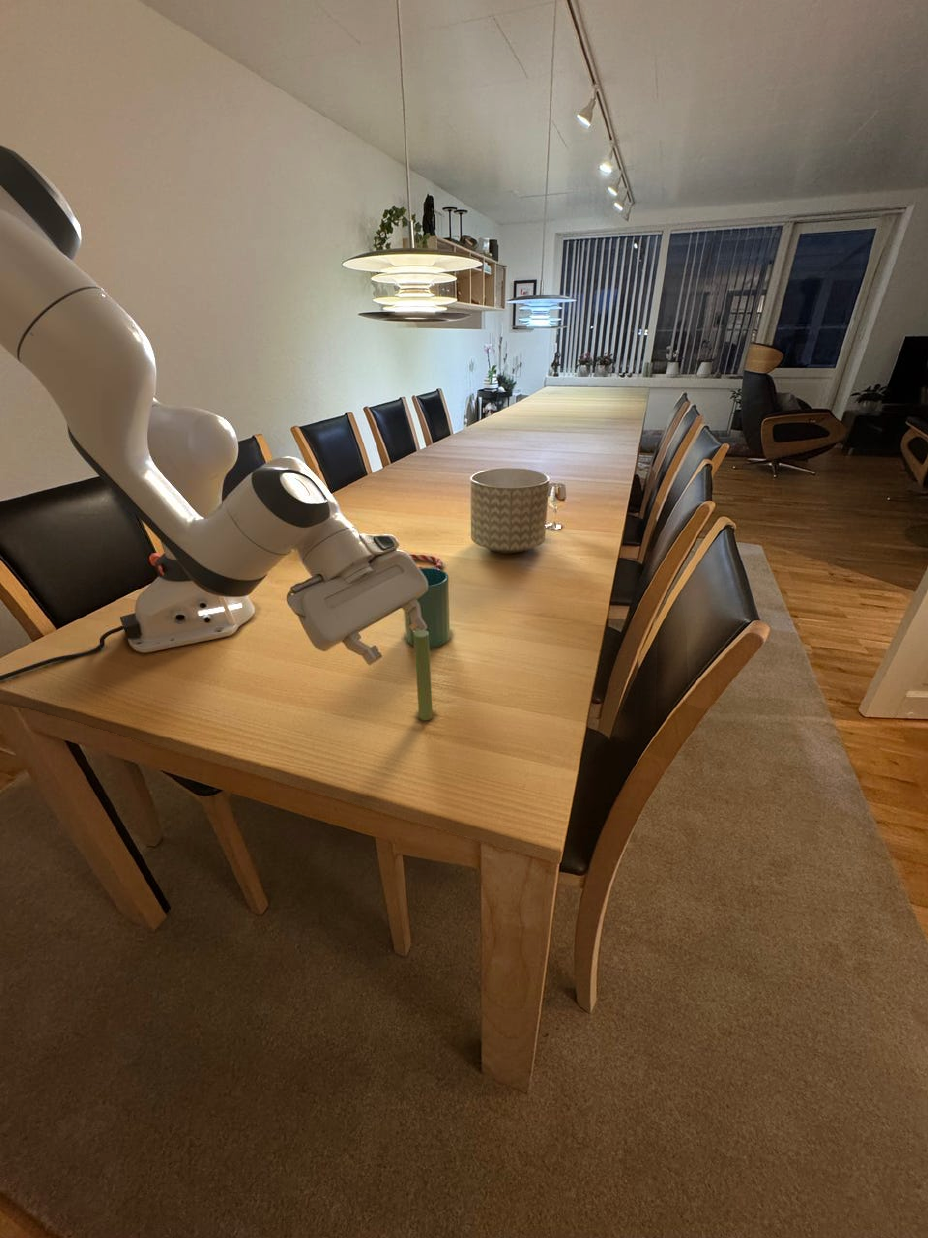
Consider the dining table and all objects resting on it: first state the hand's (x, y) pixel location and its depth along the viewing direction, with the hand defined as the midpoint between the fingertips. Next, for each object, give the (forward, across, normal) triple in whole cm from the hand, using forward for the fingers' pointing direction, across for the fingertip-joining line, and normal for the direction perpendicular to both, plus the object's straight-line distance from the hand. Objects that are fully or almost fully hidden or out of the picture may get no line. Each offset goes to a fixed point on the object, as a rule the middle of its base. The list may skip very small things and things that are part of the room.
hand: (400, 645), depth 71 cm
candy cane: (-17, +43, +32) cm, 56 cm away
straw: (+10, +1, +5) cm, 12 cm away
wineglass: (-6, +86, +21) cm, 89 cm away
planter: (-8, +65, +23) cm, 69 cm away
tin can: (0, +18, +15) cm, 24 cm away
